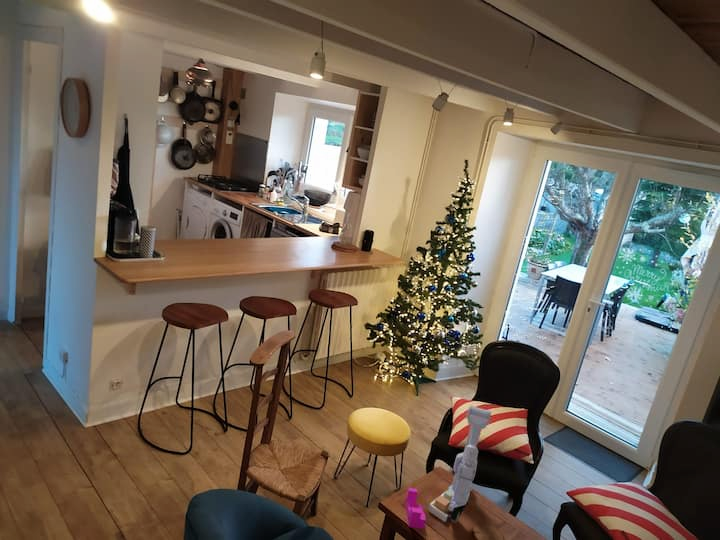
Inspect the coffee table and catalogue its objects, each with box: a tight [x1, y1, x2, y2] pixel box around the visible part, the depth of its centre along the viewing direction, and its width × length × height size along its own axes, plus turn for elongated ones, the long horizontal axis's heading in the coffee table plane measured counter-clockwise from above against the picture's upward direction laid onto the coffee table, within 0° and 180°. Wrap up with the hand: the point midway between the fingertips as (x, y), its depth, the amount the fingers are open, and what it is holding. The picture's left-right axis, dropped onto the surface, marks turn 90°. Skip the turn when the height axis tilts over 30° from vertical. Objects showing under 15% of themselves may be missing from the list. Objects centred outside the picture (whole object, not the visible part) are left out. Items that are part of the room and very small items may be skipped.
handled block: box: [434, 495, 460, 524], centre depth 227 cm, size 4×11×6 cm, turn 50°
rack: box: [427, 490, 450, 523], centre depth 231 cm, size 16×9×3 cm, turn 140°
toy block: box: [405, 487, 427, 530], centre depth 223 cm, size 15×6×8 cm, turn 1°
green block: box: [443, 488, 454, 501], centre depth 234 cm, size 4×5×6 cm
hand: (455, 517), depth 225 cm, fingers closed on handled block, 3 cm apart
